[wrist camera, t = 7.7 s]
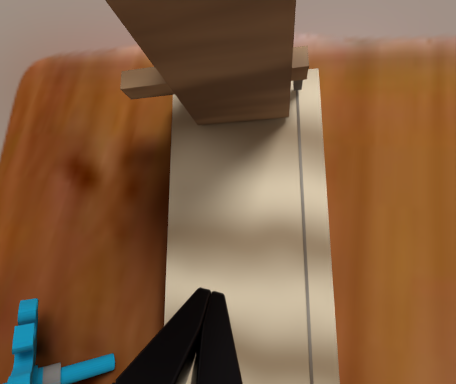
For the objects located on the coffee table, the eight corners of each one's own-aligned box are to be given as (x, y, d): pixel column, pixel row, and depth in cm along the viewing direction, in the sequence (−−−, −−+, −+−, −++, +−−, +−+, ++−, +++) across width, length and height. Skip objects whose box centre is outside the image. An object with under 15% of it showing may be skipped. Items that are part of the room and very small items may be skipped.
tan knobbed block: (305, 115, 16) (349, -112, 6) (143, 130, 19) (-43, -17, 8) (302, 58, 17) (335, -238, 6) (146, 78, 19) (-21, -120, 9)
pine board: (338, 454, 15) (346, 487, 13) (173, 430, 17) (158, 455, 15) (314, 85, 19) (318, 67, 17) (183, 99, 21) (173, 85, 19)
